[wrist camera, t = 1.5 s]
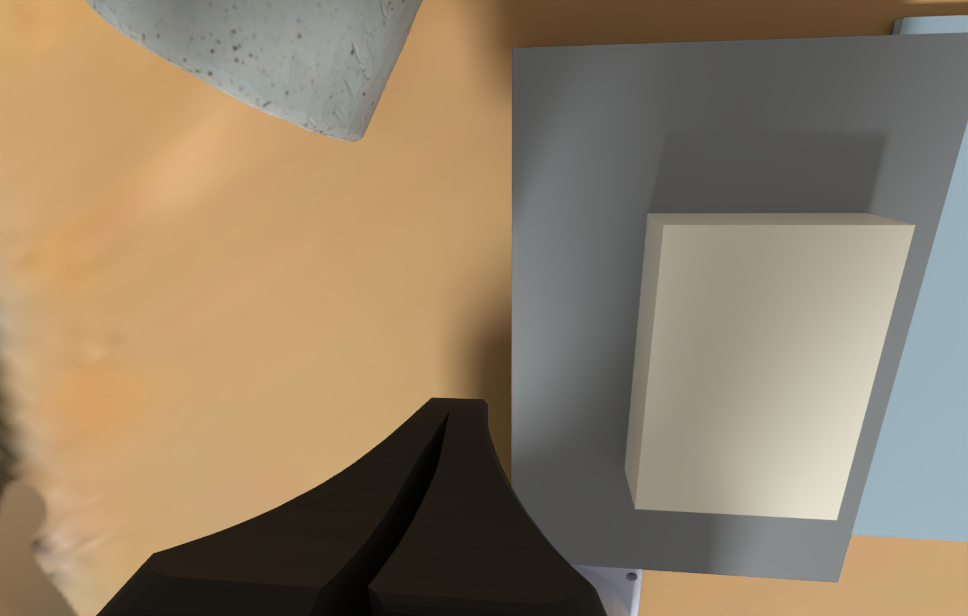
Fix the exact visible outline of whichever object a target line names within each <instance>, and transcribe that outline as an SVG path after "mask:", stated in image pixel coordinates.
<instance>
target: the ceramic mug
mask: <svg viewBox="0 0 968 616" xmlns="http://www.w3.org/2000/svg"><path fill="white" fill-rule="evenodd" d="M86 1H87V3H88V4H89V6H90V7H91V8H92V9H93V10H95V11H96V12H97V13H98V14H99V15H100V16H101V17H102V18H103V20H104V21H106V22H107V23H109V24H110V25H111V26H113V27H114V28H115V29H116V30H118V31H119V32H120V33H121V34H123V35H125V36H127V37H129V38H130V39H132V40H133V41H135V42H136V43H138V44H139V45H141V46H143V47H144V48H146V49H147V50H149V51H150V52H152V53H153V54H155V55H158V56H160V57H162V58H164V59H165V60H166V61H168V62H169V63H171V64H173V65H175V66H177V67H179V68H181V69H182V70H184V71H186V72H188V73H190V74H192V75H193V76H195V77H197V78H199V79H201V80H202V81H204V82H206V83H207V84H209V85H211V86H213V87H215V88H217V89H218V90H220V91H222V92H224V93H226V94H228V95H230V96H231V97H233V98H235V99H237V100H239V101H241V102H243V103H245V104H247V105H249V106H251V107H253V108H256V109H258V110H260V111H262V112H264V113H267V114H269V115H271V116H274V117H277V118H280V119H283V120H286V121H289V122H291V123H293V124H295V125H297V126H299V127H301V128H303V129H306V130H308V131H311V132H314V133H317V134H321V135H324V136H328V137H331V138H334V139H339V140H346V141H351V142H354V141H358V140H360V139H361V138H362V137H363V136H364V133H365V131H366V129H367V127H368V125H369V122H370V120H371V118H372V116H373V113H374V111H375V109H376V107H377V104H378V102H379V100H380V97H381V95H382V93H383V90H384V88H385V86H386V83H387V81H388V79H389V77H390V74H391V72H392V70H393V68H394V66H395V64H396V61H397V59H398V57H399V55H400V53H401V51H402V49H403V46H404V44H405V41H406V39H407V36H408V34H409V31H410V29H411V26H412V24H413V21H414V19H415V16H416V14H417V11H418V9H419V7H420V5H421V3H422V1H423V0H86Z"/></svg>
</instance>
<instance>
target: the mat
mask: <svg viewBox="0 0 968 616" xmlns="http://www.w3.org/2000/svg"><path fill="white" fill-rule="evenodd" d="M962 32H968V15H955V16H928V17H904V18H901V19H897V20H895V24H894V28H893V33H892V35H903V34H933V33H962ZM851 535H860V536H878V537H895V538H912V539H929V540H946V541H964V542H968V122H967V125H966V129H965V132H964V136H963V140H962V143H961V147H960V150H959V154H958V157H957V161H956V164H955V168H954V172H953V175H952V179H951V182H950V186H949V189H948V193H947V196H946V200H945V204H944V207H943V211H942V214H941V218H940V221H939V225H938V228H937V232H936V236H935V239H934V243H933V246H932V250H931V253H930V257H929V260H928V264H927V268H926V271H925V275H924V278H923V282H922V285H921V289H920V292H919V296H918V299H917V303H916V307H915V310H914V314H913V317H912V321H911V324H910V328H909V331H908V335H907V339H906V342H905V346H904V349H903V353H902V356H901V360H900V363H899V367H898V371H897V374H896V378H895V381H894V385H893V388H892V392H891V395H890V399H889V403H888V406H887V410H886V413H885V417H884V420H883V424H882V427H881V431H880V434H879V438H878V442H877V445H876V449H875V452H874V456H873V459H872V463H871V466H870V470H869V474H868V477H867V481H866V484H865V488H864V491H863V495H862V498H861V502H860V506H859V509H858V513H857V516H856V520H855V523H854V527H853V530H852V534H851Z"/></svg>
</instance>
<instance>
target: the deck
mask: <svg viewBox="0 0 968 616" xmlns="http://www.w3.org/2000/svg"><path fill="white" fill-rule="evenodd" d="M967 122H968V32H962V33H933V34H903V35H874V36H845V37H816V38H787V39H757V40H728V41H699V42H670V43H641V44H612V45H582V46H553V47H524V48H512V444H511V487H512V488H513V490H514V492H515V494H516V495H517V497H518V499H519V500H520V502H521V504H522V505H523V507H524V508H525V510H526V511H527V513H528V514H529V516H530V517H531V518H532V520H533V521H534V522H535V524H536V525H537V526H538V528H539V529H540V530H541V531H542V533H543V534H544V535H545V537H546V538H547V539H548V541H549V542H550V543H551V544H552V545H553V546H554V547H555V549H556V550H557V551H558V552H559V553H560V554H561V555H562V556H563V557H564V559H565V560H566V561H567V562H568V563H569V564H570V565H583V566H597V567H612V568H627V569H642V570H657V571H672V572H687V573H702V574H717V575H732V576H747V577H761V578H776V579H791V580H806V581H821V582H836V583H838V580H839V577H840V573H841V569H842V566H843V562H844V559H845V555H846V552H847V548H848V545H849V541H850V538H851V534H852V530H853V527H854V523H855V520H856V516H857V513H858V509H859V506H860V502H861V498H862V495H863V491H864V488H865V484H866V481H867V477H868V474H869V470H870V466H871V463H872V459H873V456H874V452H875V449H876V445H877V442H878V438H879V434H880V431H881V427H882V424H883V420H884V417H885V413H886V410H887V406H888V403H889V399H890V395H891V392H892V388H893V385H894V381H895V378H896V374H897V371H898V367H899V363H900V360H901V356H902V353H903V349H904V346H905V342H906V339H907V335H908V331H909V328H910V324H911V321H912V317H913V314H914V310H915V307H916V303H917V299H918V296H919V292H920V289H921V285H922V282H923V278H924V275H925V271H926V268H927V264H928V260H929V257H930V253H931V250H932V246H933V243H934V239H935V236H936V232H937V228H938V225H939V221H940V218H941V214H942V211H943V207H944V204H945V200H946V196H947V193H948V189H949V186H950V182H951V179H952V175H953V172H954V168H955V164H956V161H957V157H958V154H959V150H960V147H961V143H962V140H963V136H964V132H965V129H966V125H967ZM648 213H867V214H872V215H876V216H880V217H884V218H888V219H892V220H896V221H901V222H905V223H909V224H913V225H915V229H914V232H913V236H912V240H911V244H910V247H909V251H908V255H907V259H906V262H905V266H904V270H903V274H902V277H901V281H900V285H899V289H898V292H897V296H896V300H895V304H894V307H893V311H892V315H891V319H890V322H889V326H888V330H887V334H886V337H885V341H884V345H883V349H882V352H881V356H880V360H879V364H878V367H877V371H876V375H875V379H874V382H873V386H872V390H871V394H870V397H869V401H868V405H867V409H866V413H865V416H864V420H863V424H862V428H861V431H860V435H859V439H858V443H857V446H856V450H855V454H854V458H853V461H852V465H851V469H850V473H849V476H848V480H847V484H846V488H845V491H844V495H843V499H842V503H841V506H840V510H839V514H838V518H837V520H823V519H805V518H787V517H769V516H751V515H733V514H715V513H697V512H679V511H661V510H643V509H635V507H634V504H633V500H632V496H631V492H630V488H629V485H628V481H627V477H626V473H625V458H626V447H627V436H628V425H629V414H630V403H631V392H632V381H633V369H634V358H635V347H636V336H637V325H638V314H639V303H640V292H641V281H642V270H643V259H644V248H645V236H646V225H647V214H648Z"/></svg>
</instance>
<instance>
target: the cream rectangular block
mask: <svg viewBox="0 0 968 616" xmlns="http://www.w3.org/2000/svg"><path fill="white" fill-rule="evenodd" d="M914 229H915V225H913V224H909V223H905V222H901V221H896V220H892V219H888V218H884V217H880V216H876V215H872V214H867V213H648V214H647V225H646V236H645V248H644V259H643V270H642V281H641V292H640V303H639V314H638V325H637V336H636V347H635V358H634V369H633V381H632V392H631V403H630V414H629V425H628V436H627V447H626V458H625V473H626V477H627V481H628V485H629V488H630V492H631V496H632V500H633V504H634V507H635V509H643V510H661V511H679V512H697V513H715V514H733V515H751V516H769V517H787V518H805V519H823V520H837V518H838V514H839V510H840V506H841V503H842V499H843V495H844V491H845V488H846V484H847V480H848V476H849V473H850V469H851V465H852V461H853V458H854V454H855V450H856V446H857V443H858V439H859V435H860V431H861V428H862V424H863V420H864V416H865V413H866V409H867V405H868V401H869V397H870V394H871V390H872V386H873V382H874V379H875V375H876V371H877V367H878V364H879V360H880V356H881V352H882V349H883V345H884V341H885V337H886V334H887V330H888V326H889V322H890V319H891V315H892V311H893V307H894V304H895V300H896V296H897V292H898V289H899V285H900V281H901V277H902V274H903V270H904V266H905V262H906V259H907V255H908V251H909V247H910V244H911V240H912V236H913V232H914Z"/></svg>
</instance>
